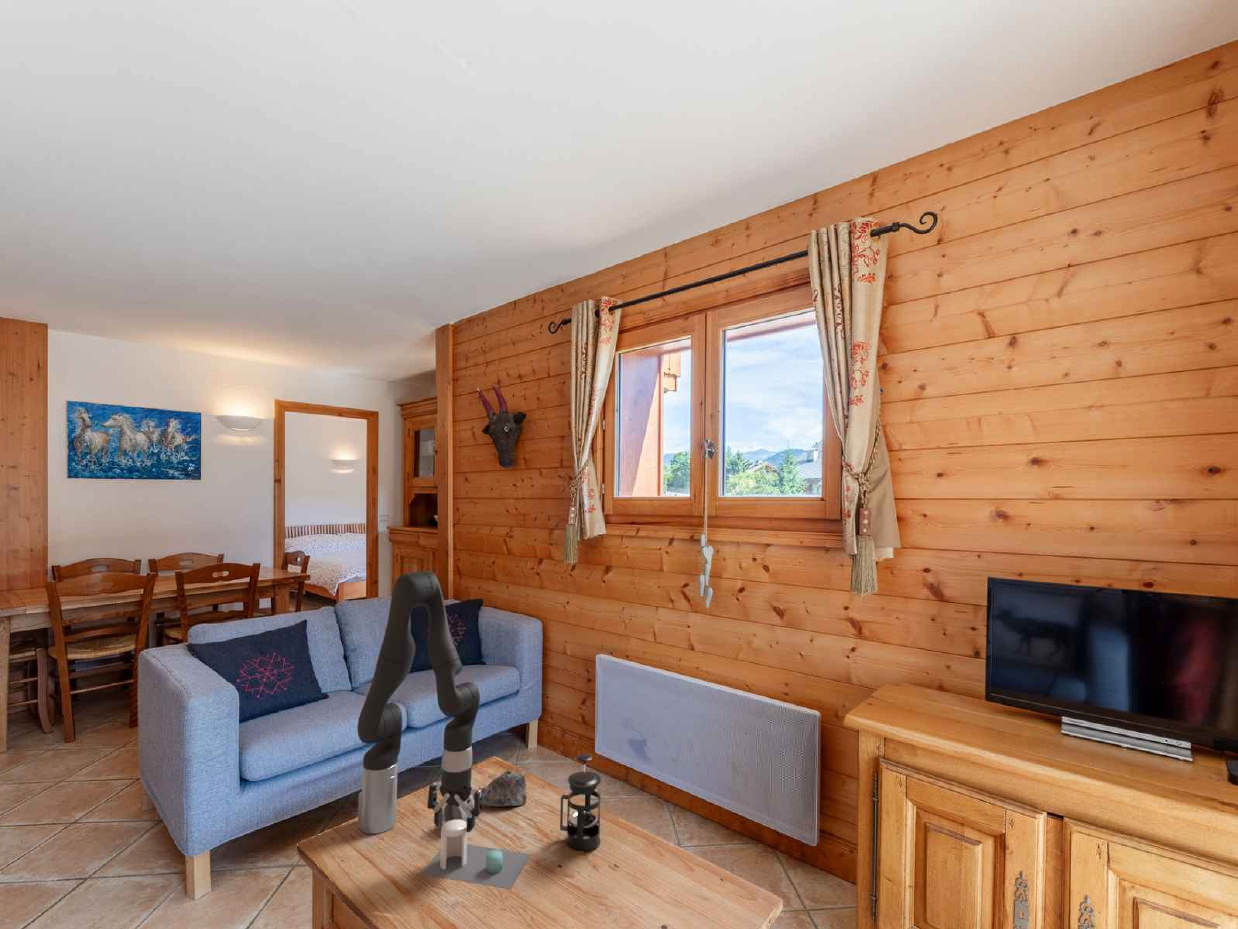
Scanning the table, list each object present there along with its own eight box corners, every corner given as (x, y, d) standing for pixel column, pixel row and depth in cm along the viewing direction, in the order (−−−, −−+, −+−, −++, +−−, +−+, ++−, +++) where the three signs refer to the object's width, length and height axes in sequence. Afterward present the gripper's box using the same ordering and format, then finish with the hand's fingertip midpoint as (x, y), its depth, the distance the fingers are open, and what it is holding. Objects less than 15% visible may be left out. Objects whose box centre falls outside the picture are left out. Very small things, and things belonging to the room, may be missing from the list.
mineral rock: (477, 808, 179) (478, 774, 179) (494, 791, 189) (494, 758, 189) (516, 815, 175) (517, 780, 176) (531, 797, 186) (532, 764, 186)
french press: (605, 834, 166) (607, 750, 167) (599, 855, 157) (600, 766, 158) (564, 830, 168) (566, 747, 169) (556, 850, 159) (557, 762, 160)
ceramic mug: (482, 821, 172) (482, 794, 172) (461, 835, 165) (461, 806, 165) (455, 811, 177) (456, 784, 178) (434, 824, 170) (435, 796, 171)
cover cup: (435, 868, 149) (436, 831, 150) (447, 853, 156) (448, 818, 156) (459, 872, 148) (460, 835, 149) (470, 857, 154) (471, 821, 155)
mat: (419, 875, 147) (419, 873, 147) (447, 842, 161) (447, 841, 161) (511, 891, 142) (511, 889, 142) (531, 855, 156) (531, 854, 156)
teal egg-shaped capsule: (483, 873, 148) (483, 858, 148) (490, 863, 152) (490, 849, 152) (498, 875, 147) (498, 861, 147) (504, 865, 151) (505, 851, 151)
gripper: (424, 766, 151) (421, 832, 150) (476, 774, 148) (473, 841, 147) (438, 753, 158) (436, 815, 158) (488, 761, 155) (486, 824, 155)
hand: (454, 828), depth 153 cm, fingers open, 8 cm apart
